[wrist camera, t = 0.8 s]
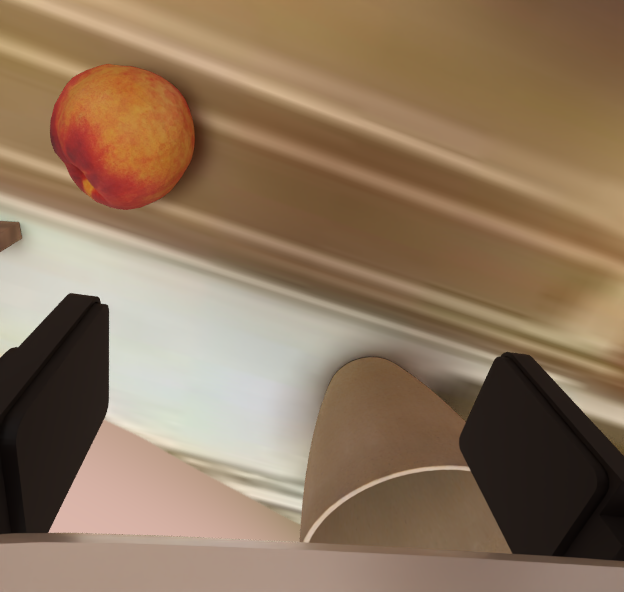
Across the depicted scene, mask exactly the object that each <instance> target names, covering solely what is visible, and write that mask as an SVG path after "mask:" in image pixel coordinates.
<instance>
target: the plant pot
mask: <svg viewBox="0 0 624 592" xmlns="http://www.w3.org/2000/svg"><path fill="white" fill-rule="evenodd" d="M465 423H466V422H465V421H464V420H463V419H462V418H461V417H460V416H459V415H458V414H457V413H456V412H455V411H454V410H453V409H452V408H451V407H450V406H449V405H448V404H446V403H445V402H444V401H443V400H442V399H441V398H440V397H438V396H437V395H436V394H435V393H434V392H433V391H432V390H430V389H429V388H428V387H427V386H425V385H424V384H423V383H422V382H420V381H419V380H418V379H416V378H415V377H414V376H412V375H411V374H410V373H408V372H407V371H405V370H404V369H402V368H401V367H399V366H398V365H396V364H395V363H393V362H391V361H389V360H386V359H383V358H378V357H366V358H361V359H357V360H354V361H352V362H350V363H348V364H346V365H345V366H343V367H342V368H341V369H339V370H338V371H337V373H336V374H335V375H334V376H333V378H332V379H331V382H330V384H329V386H328V389H327V391H326V394H325V396H324V399H323V402H322V405H321V408H320V411H319V415H318V418H317V422H316V426H315V430H314V434H313V438H312V443H311V448H310V453H309V459H308V465H307V471H306V478H305V486H304V495H303V504H302V517H301V529H300V542H306V543H325V544H344V545H363V546H382V547H401V548H419V549H437V550H455V551H473V552H490V553H506V554H512V552H511V550H510V548H509V546H508V544H507V542H506V540H505V538H504V536H503V534H502V532H501V530H500V528H499V526H498V524H497V522H496V520H495V518H494V516H493V514H492V512H491V510H490V508H489V506H488V504H487V502H486V500H485V498H484V496H483V494H482V492H481V491H480V489H479V487H478V485H477V483H476V481H475V479H474V477H473V475H472V473H471V471H470V469H469V467H468V465H467V463H466V461H465V459H464V457H463V455H462V453H461V451H460V448H459V437H460V434H461V432H462V430H463V428H464V425H465Z"/></svg>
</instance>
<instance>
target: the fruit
mask: <svg viewBox="0 0 624 592" xmlns="http://www.w3.org/2000/svg"><path fill="white" fill-rule="evenodd" d="M50 137H51V143H52V146H53V149H54V151H55V153H56V154H57V155H58V156H59V157H60V159H61V160H62V161H63V162H64V163H65V165H66V167H67V169H68V172H69V174H70V176H71V178H72V179H73V181H74V182H75V183H76V185H77V186H78V187H79V188H80V189H81V190H82V191H83V192H84V193H86V194H87V195H88V196H90V197H91V198H92V199H94V200H95V201H96V202H99V203H101V204H104V205H106V206H109V207H112V208H116V209H123V210H128V209H134V208H140V207H143V206H145V205H148V204H150V203H152V202H155V201H156V200H158V199H160V198H162V197H164V196H165V195H166V194H167V193H169V192H170V191H171V190H172V188H173V187H174V186H175V185H176V184H177V182H178V181H179V180H180V179H181V177H182V175H183V173H184V172H185V171H186V169H187V167H188V165H189V164H190V162H191V159H192V155H193V151H194V144H195V134H194V125H193V120H192V117H191V113H190V110H189V107H188V105H187V103H186V101H185V98H184V97H183V96H182V94H181V93H180V92H179V90H178V89H177V88H176V87H175V86H174V85H172V84H171V83H170V82H168V81H167V80H165V79H164V78H162V77H161V76H159V75H156V74H154V73H152V72H150V71H147V70H144V69H140V68H136V67H132V66H119V65H111V64H106V65H101V66H98V67H95V68H92V69H89V70H86V71H84V72H82V73H80V74H78V75H76V76H75V77H73V78H72V79H71V80H70V81H69V82H68V83H67V85H66V86H65V88H64V89H63V91H62V93H61V94H60V96H59V98H58V100H57V102H56V103H55V105H54V109H53V113H52V117H51V125H50Z"/></svg>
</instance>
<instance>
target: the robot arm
mask: <svg viewBox="0 0 624 592" xmlns="http://www.w3.org/2000/svg"><path fill="white" fill-rule="evenodd" d="M108 403H109V308H108V305H106V304H101V302H100V299H99V297H95V296H88V295H81V294H73V293H70V294H68V295H67V296H66V297H65V298H64V299H63V300H62V301H61V302H60V303H59V305H58V306H57V307H56V308H55V309H54V310H53V311H52V312H51V313H50V314H49V315H48V316H47V317H46V318H45V319H44V320H43V322H42V323H41V324H40V325H39V326H38V327H37V328H36V329H35V330H34V331H33V332H32V333H31V334H30V335H29V336H28V337H27V339H26V340H25V341H24V342H23V343H22V344H21V345H20V346H19V347H15V348H11V349H9V350H8V351H7V352H6V353H5V354H4V355H3V356H2V357H1V358H0V592H624V456H623V455H622V454H621V453H620V451H619V450H618V449H617V448H616V447H615V446H614V445H613V444H612V443H611V442H610V441H609V440H608V438H607V437H606V436H605V435H604V434H603V433H602V432H601V431H600V430H599V429H598V428H597V427H596V426H595V424H594V423H593V422H592V421H591V420H590V419H589V418H588V417H587V416H586V415H585V414H584V413H583V412H582V410H581V409H580V408H579V407H578V406H577V405H576V404H575V403H574V402H573V401H572V400H571V399H570V398H569V396H568V395H567V394H566V393H565V392H564V391H563V390H562V389H561V388H560V387H559V386H558V385H557V384H556V382H555V381H554V380H553V379H552V378H551V377H550V376H549V375H548V374H547V373H546V372H545V371H544V370H543V368H542V367H541V366H540V365H539V364H538V363H537V362H536V361H535V360H534V359H533V358H532V357H531V356H530V355H526V354H518V353H511V352H506V353H503V354H502V355H501V357H497V358H496V359H495V360H494V362H493V364H492V366H491V368H490V370H489V373H488V375H487V377H486V379H485V381H484V384H483V386H482V388H481V390H480V392H479V395H478V397H477V399H476V401H475V403H474V406H473V408H472V410H471V412H470V414H469V417H468V419H467V421H466V423H465V425H464V428H463V430H462V432H461V434H460V437H459V448H460V451H461V453H462V455H463V457H464V459H465V461H466V463H467V465H468V467H469V469H470V471H471V473H472V475H473V477H474V479H475V481H476V483H477V485H478V487H479V489H480V491H481V492H482V494H483V496H484V498H485V500H486V502H487V504H488V506H489V508H490V510H491V512H492V514H493V516H494V518H495V520H496V522H497V524H498V526H499V528H500V530H501V532H502V534H503V536H504V538H505V540H506V542H507V544H508V546H509V548H510V550H511V552H512V554H506V553H490V552H473V551H455V550H437V549H419V548H401V547H382V546H363V545H344V544H325V543H306V542H285V541H284V542H283V541H263V540H243V539H241V540H240V539H221V538H201V537H180V536H179V537H178V536H155V535H154V536H153V535H152V536H151V535H123V534H90V533H48V532H49V530H50V528H51V526H52V524H53V521H54V519H55V517H56V515H57V513H58V511H59V509H60V507H61V505H62V503H63V501H64V499H65V497H66V495H67V493H68V491H69V489H70V487H71V485H72V483H73V481H74V479H75V477H76V475H77V473H78V471H79V469H80V467H81V465H82V463H83V461H84V459H85V456H86V454H87V452H88V450H89V448H90V446H91V444H92V442H93V440H94V438H95V436H96V434H97V432H98V430H99V428H100V426H101V424H102V422H103V420H104V418H105V415H106V412H107V409H108Z"/></svg>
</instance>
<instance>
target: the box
mask: <svg viewBox="0 0 624 592" xmlns="http://www.w3.org/2000/svg"><path fill="white" fill-rule="evenodd" d="M20 239H22V236H21V231H20V226H19V222H7V221H0V252H1V251H3V250H4V249H6V248H7V247H9V246H11V245H12V244H14V243H15V242H17V241H18V240H20Z"/></svg>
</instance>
